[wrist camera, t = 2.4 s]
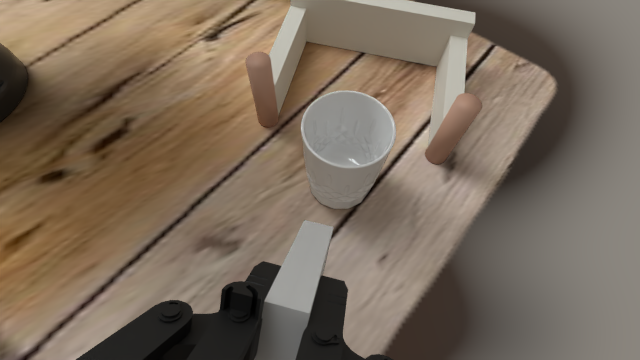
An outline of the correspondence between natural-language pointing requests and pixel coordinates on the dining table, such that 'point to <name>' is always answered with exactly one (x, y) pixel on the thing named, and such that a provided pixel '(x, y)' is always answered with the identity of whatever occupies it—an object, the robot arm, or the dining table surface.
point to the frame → (379, 39)
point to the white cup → (345, 146)
